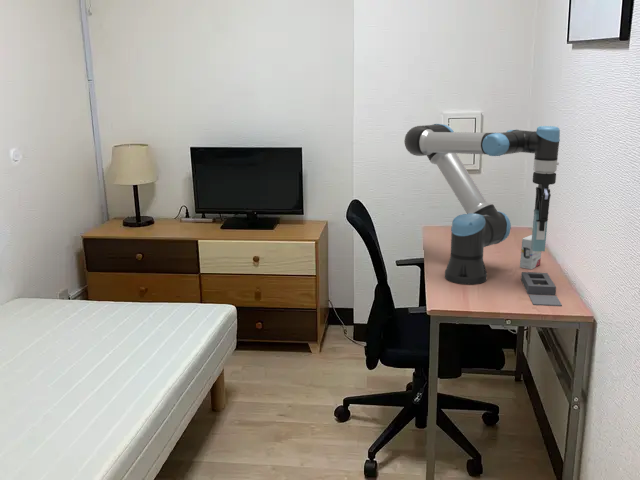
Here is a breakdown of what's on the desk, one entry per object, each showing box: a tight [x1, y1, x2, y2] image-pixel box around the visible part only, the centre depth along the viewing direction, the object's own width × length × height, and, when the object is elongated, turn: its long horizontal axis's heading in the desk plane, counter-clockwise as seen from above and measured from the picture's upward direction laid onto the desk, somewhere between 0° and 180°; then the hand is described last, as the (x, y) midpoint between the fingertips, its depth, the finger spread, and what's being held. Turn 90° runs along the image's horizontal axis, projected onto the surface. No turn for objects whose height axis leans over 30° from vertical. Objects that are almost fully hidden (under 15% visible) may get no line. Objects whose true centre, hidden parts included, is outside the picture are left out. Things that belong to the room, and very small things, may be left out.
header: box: [520, 271, 557, 296], centre depth 225 cm, size 16×9×3 cm, turn 171°
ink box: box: [519, 234, 542, 270], centre depth 248 cm, size 9×5×12 cm, turn 137°
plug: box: [531, 208, 550, 252], centre depth 224 cm, size 4×4×14 cm
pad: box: [528, 294, 563, 307], centre depth 211 cm, size 9×9×1 cm
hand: (539, 237), depth 224 cm, fingers closed on plug, 4 cm apart
